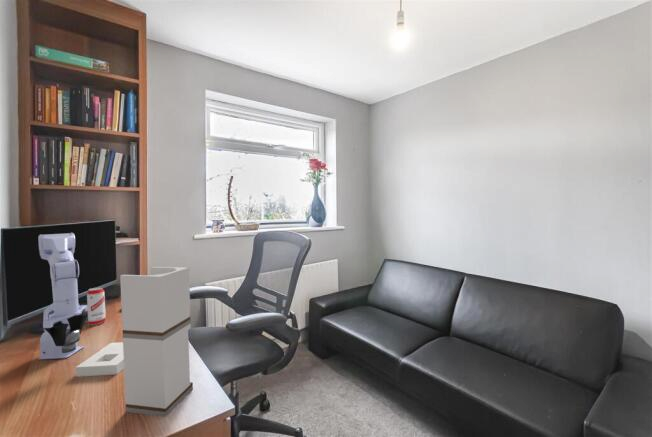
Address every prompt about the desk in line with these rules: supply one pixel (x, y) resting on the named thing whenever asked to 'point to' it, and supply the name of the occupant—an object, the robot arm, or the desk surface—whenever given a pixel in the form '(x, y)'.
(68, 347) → the cylinder
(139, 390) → the tall white square container
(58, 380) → the desk surface
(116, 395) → the desk surface
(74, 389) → the desk surface
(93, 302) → the beer can
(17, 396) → the desk surface
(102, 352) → the plate
